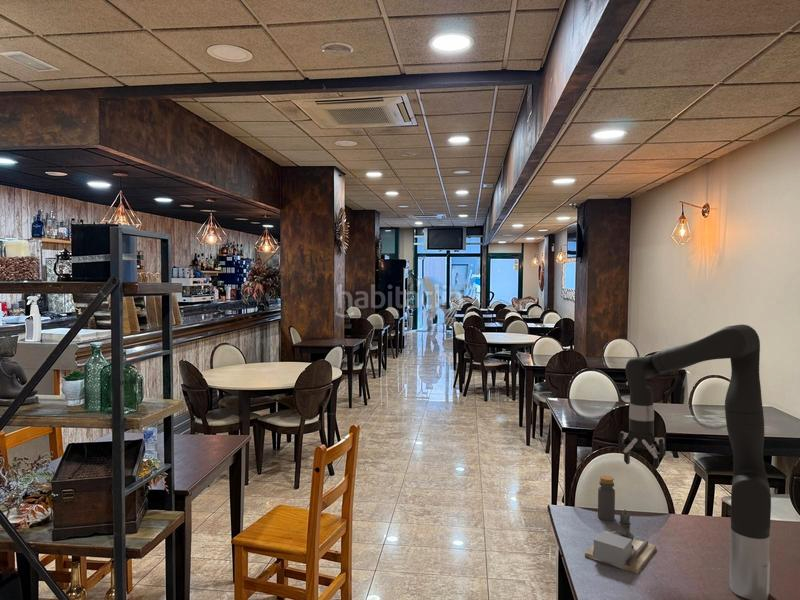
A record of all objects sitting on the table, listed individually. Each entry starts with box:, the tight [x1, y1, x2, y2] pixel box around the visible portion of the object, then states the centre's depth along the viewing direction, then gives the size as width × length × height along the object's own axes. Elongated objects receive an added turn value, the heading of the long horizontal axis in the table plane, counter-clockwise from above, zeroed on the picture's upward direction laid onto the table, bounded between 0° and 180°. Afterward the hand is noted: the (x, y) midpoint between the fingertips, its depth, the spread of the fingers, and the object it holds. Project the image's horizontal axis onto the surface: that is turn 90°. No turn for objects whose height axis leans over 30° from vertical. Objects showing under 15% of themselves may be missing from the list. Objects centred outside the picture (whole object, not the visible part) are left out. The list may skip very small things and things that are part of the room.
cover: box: [593, 530, 632, 567], centre depth 170 cm, size 9×8×6 cm
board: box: [584, 530, 657, 574], centre depth 177 cm, size 16×20×2 cm
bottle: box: [597, 475, 616, 522], centre depth 203 cm, size 6×6×15 cm
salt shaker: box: [615, 509, 635, 548], centre depth 179 cm, size 6×6×12 cm
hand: (641, 466), depth 181 cm, fingers open, 8 cm apart
